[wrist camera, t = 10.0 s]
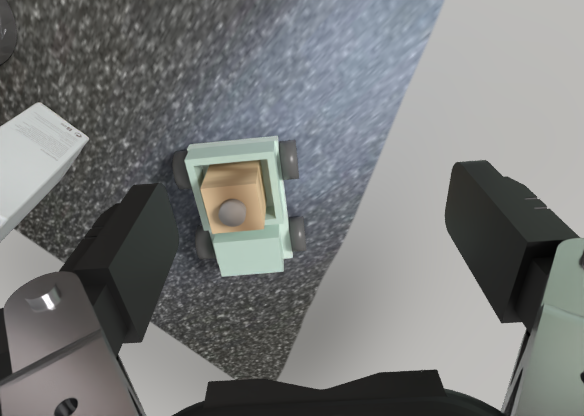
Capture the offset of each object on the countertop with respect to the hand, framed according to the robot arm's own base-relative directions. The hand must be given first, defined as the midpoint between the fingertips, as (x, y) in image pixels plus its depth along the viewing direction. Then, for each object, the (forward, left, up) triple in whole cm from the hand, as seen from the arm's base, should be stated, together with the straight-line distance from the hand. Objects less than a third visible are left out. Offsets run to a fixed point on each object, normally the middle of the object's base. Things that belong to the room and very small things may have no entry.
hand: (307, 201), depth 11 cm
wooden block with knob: (-7, -13, -26) cm, 30 cm away
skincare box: (-27, -8, -29) cm, 40 cm away
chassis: (-7, -16, -29) cm, 34 cm away
